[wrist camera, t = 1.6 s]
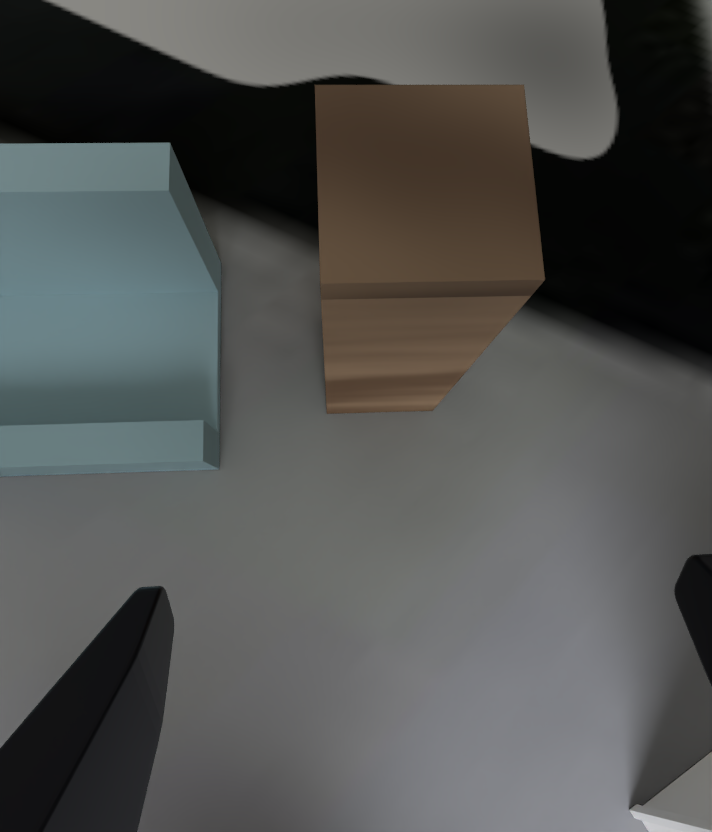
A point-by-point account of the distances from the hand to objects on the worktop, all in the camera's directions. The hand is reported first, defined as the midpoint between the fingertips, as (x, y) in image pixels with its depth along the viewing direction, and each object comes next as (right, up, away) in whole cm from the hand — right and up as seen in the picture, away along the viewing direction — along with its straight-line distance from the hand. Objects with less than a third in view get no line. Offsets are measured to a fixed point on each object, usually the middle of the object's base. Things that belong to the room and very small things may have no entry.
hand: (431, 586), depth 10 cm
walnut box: (0, +5, +15) cm, 16 cm away
